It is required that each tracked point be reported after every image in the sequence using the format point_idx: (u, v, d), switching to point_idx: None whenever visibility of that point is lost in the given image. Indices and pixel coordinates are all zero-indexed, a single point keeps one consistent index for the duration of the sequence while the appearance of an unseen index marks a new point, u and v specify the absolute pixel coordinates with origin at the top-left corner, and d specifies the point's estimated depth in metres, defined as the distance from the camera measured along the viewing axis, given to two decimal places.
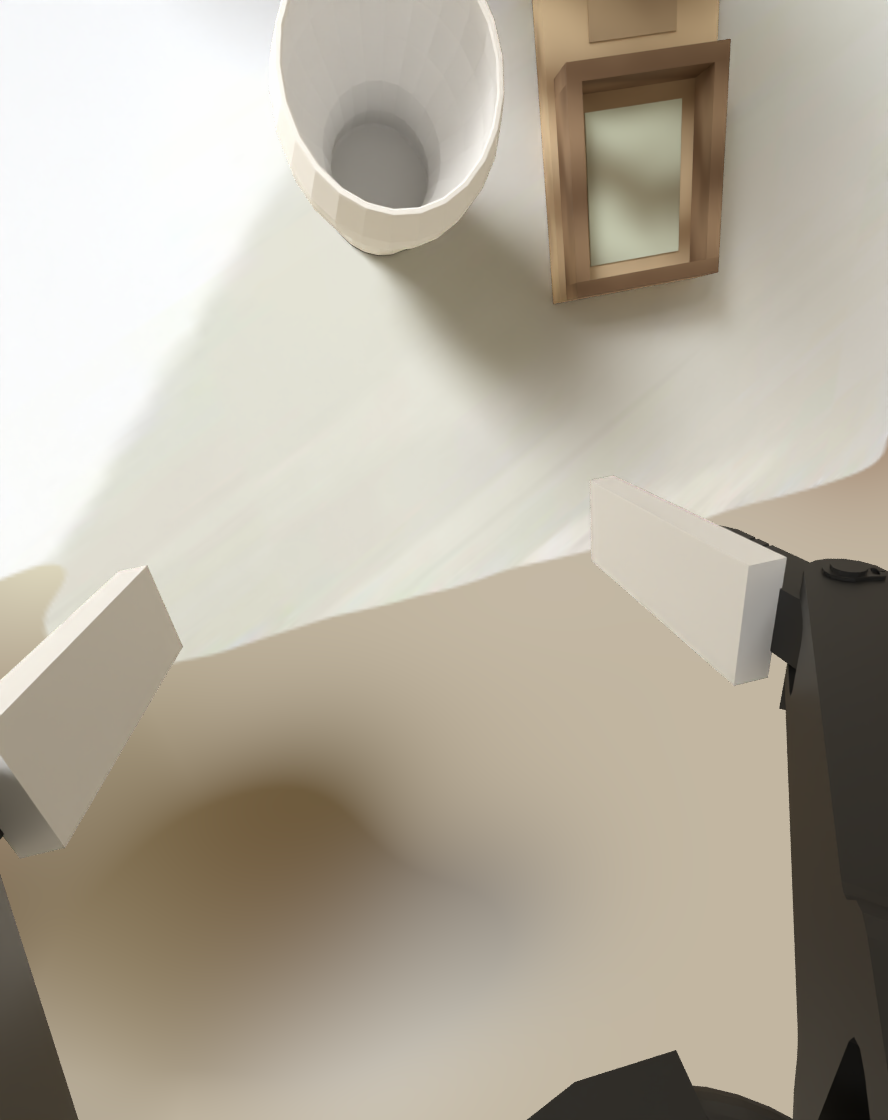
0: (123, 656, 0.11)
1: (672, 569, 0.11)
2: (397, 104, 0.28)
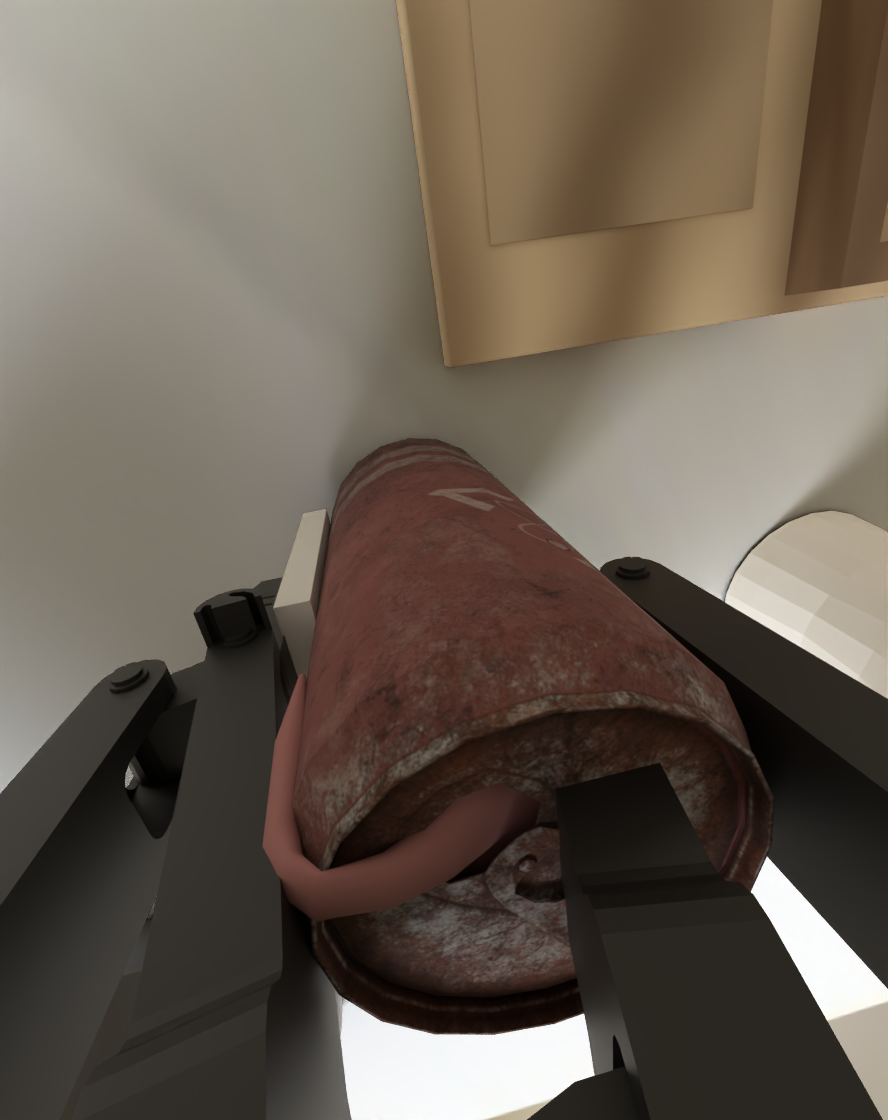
0: None
1: None
2: None
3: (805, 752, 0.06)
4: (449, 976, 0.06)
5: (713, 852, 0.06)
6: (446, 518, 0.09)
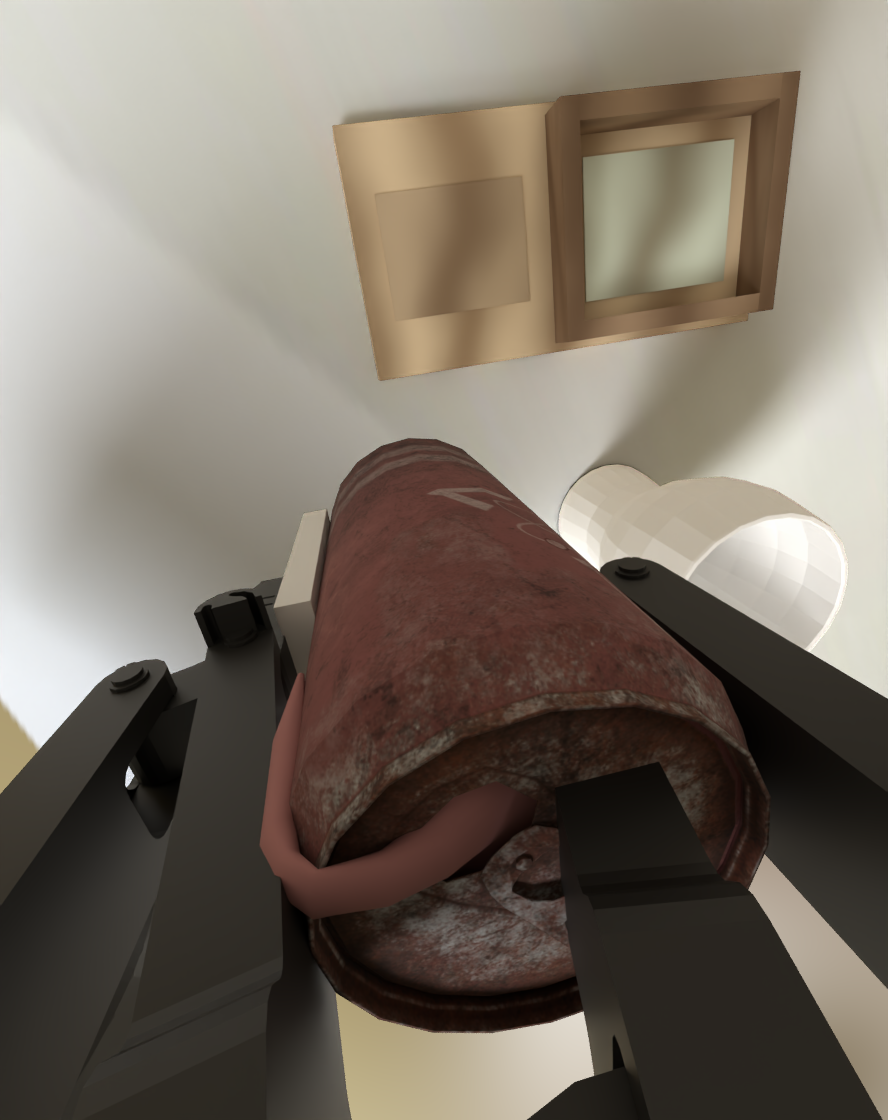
0: None
1: None
2: None
3: (805, 753, 0.06)
4: (446, 975, 0.06)
5: (710, 851, 0.06)
6: (444, 517, 0.09)
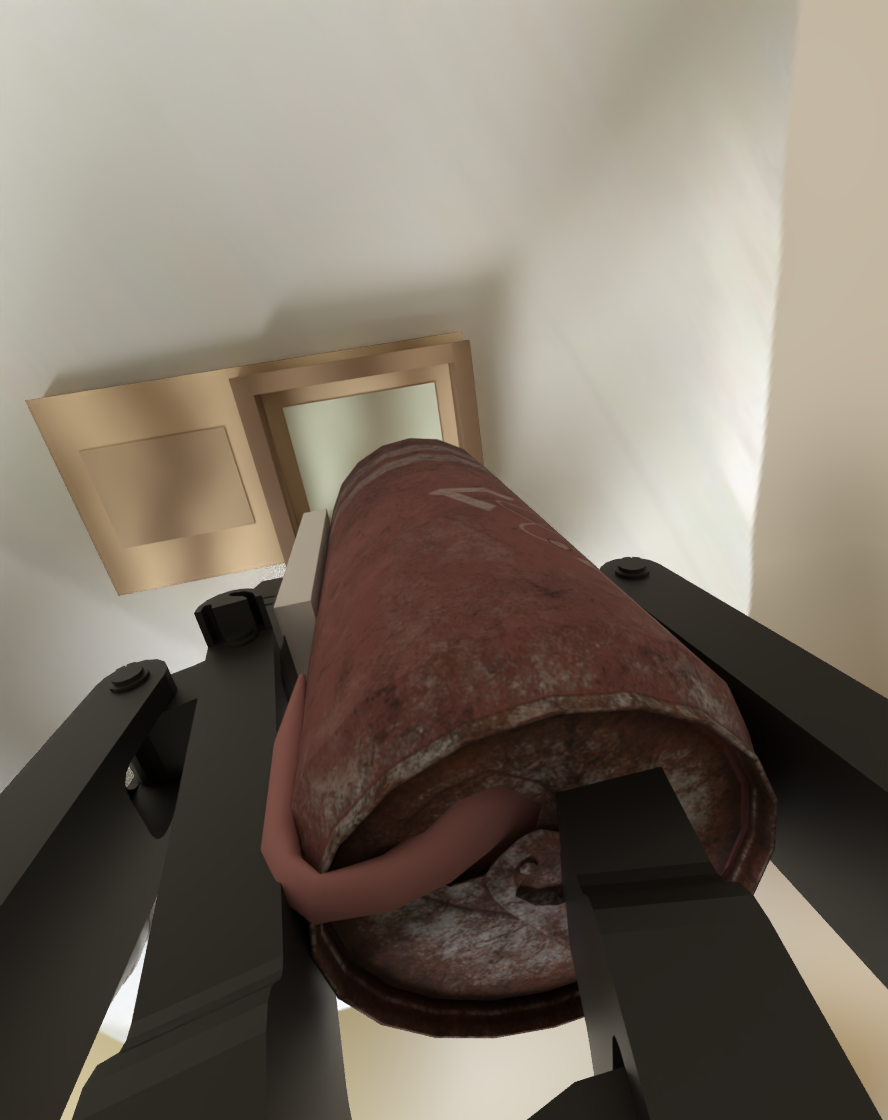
0: None
1: None
2: None
3: (805, 753, 0.06)
4: (449, 979, 0.06)
5: (716, 855, 0.06)
6: (446, 518, 0.09)
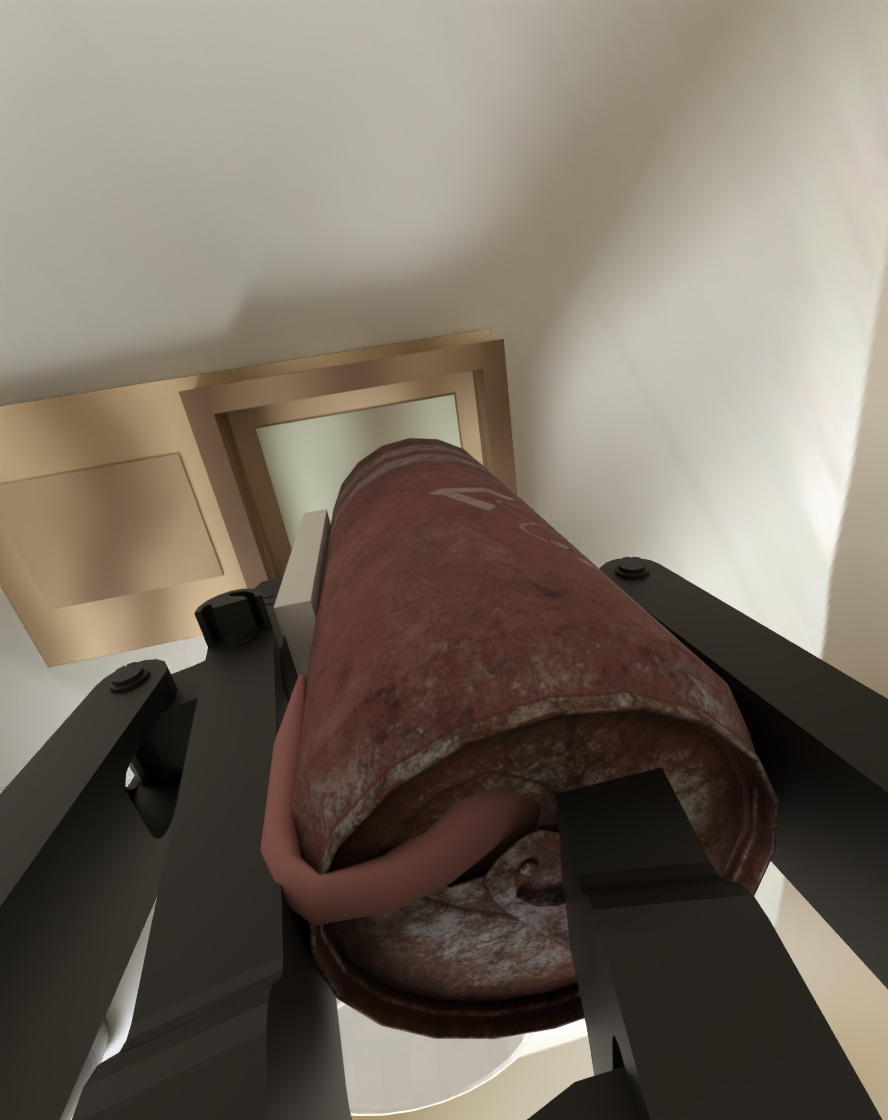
0: None
1: None
2: None
3: (804, 753, 0.06)
4: (449, 981, 0.06)
5: (716, 856, 0.06)
6: (446, 517, 0.09)
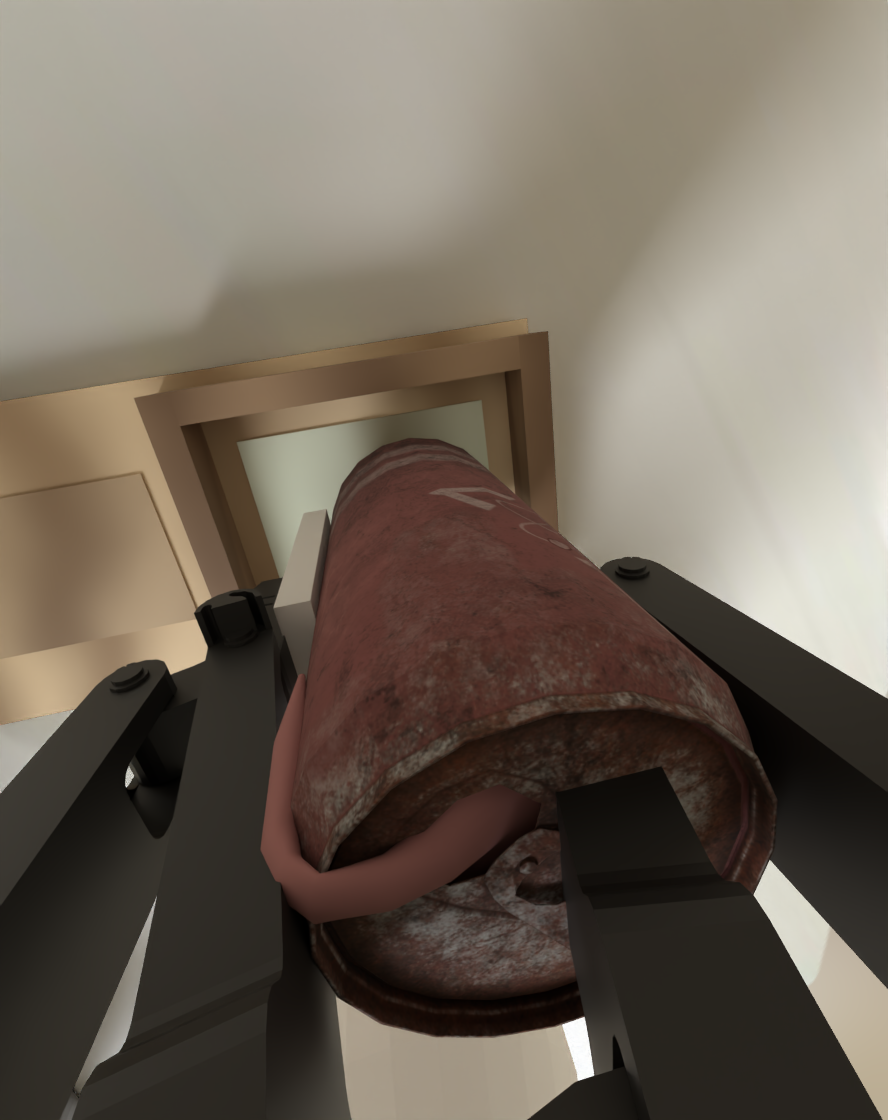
0: None
1: None
2: None
3: (805, 753, 0.06)
4: (448, 979, 0.06)
5: (716, 854, 0.06)
6: (446, 517, 0.09)
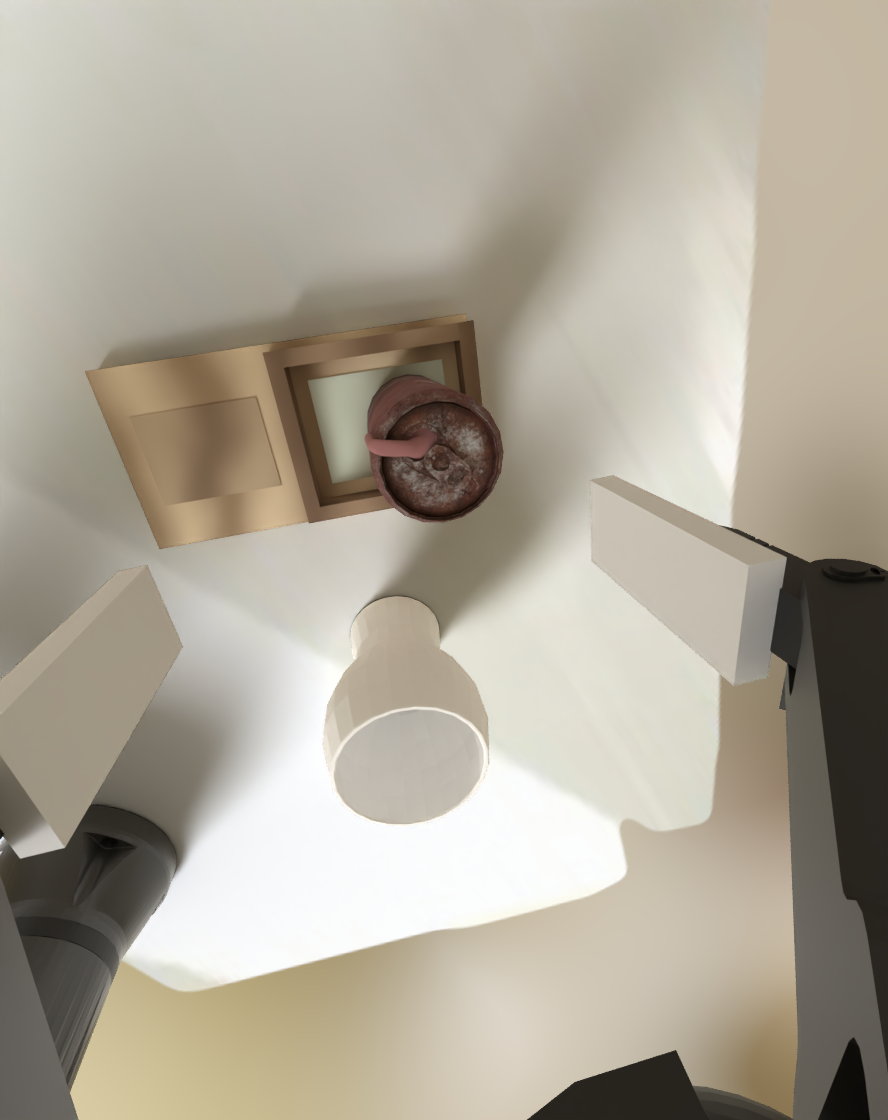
0: (123, 656, 0.11)
1: (672, 569, 0.11)
2: None
3: None
4: (414, 501, 0.22)
5: (488, 464, 0.22)
6: (418, 383, 0.24)
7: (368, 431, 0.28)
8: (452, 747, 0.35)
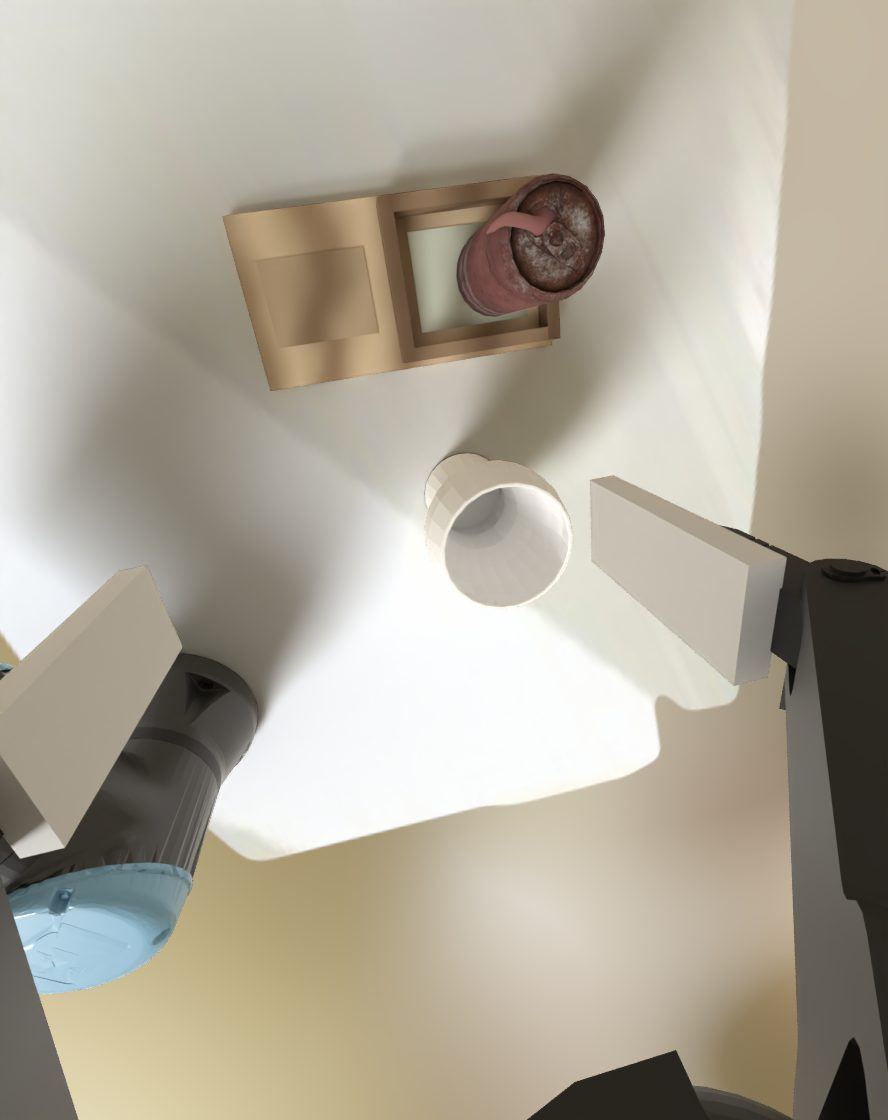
0: (123, 656, 0.11)
1: (672, 569, 0.11)
2: None
3: None
4: (532, 275, 0.27)
5: (593, 243, 0.27)
6: None
7: (471, 256, 0.33)
8: (528, 564, 0.40)
